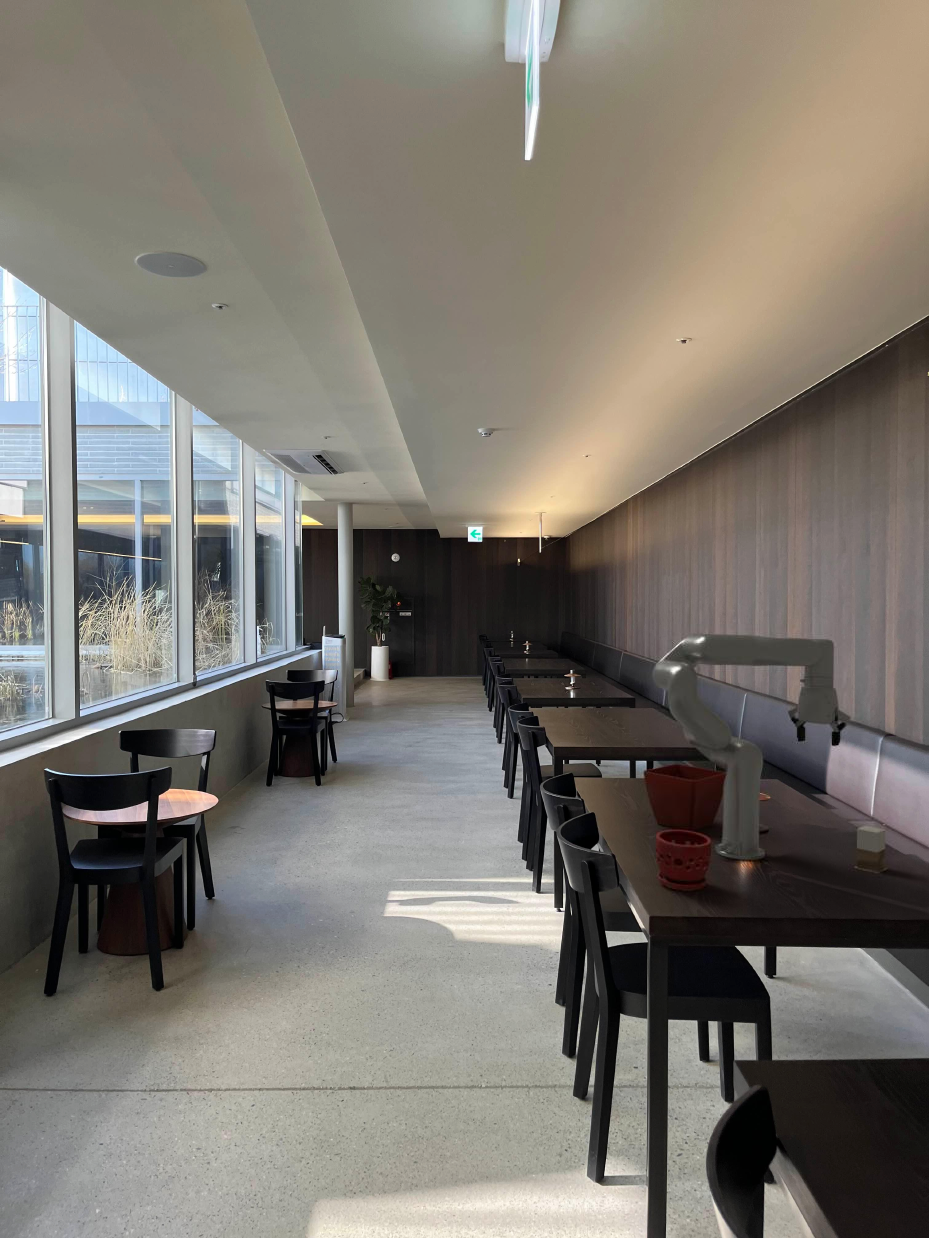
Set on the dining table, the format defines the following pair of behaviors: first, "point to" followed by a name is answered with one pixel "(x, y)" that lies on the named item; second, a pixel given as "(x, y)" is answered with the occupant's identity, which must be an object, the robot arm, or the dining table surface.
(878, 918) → the dining table surface
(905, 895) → the dining table surface
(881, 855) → the walnut block
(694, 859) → the plant pot
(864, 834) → the cream block
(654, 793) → the plant pot
